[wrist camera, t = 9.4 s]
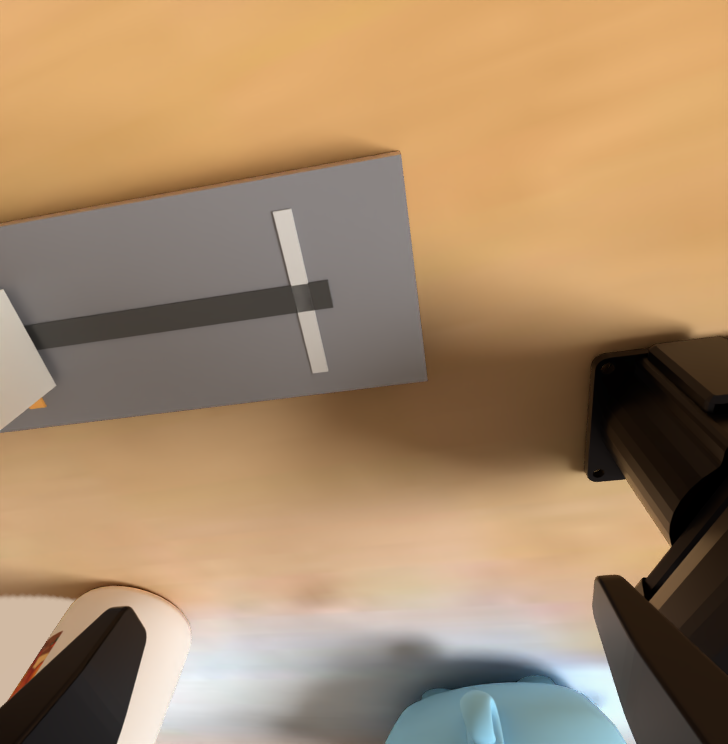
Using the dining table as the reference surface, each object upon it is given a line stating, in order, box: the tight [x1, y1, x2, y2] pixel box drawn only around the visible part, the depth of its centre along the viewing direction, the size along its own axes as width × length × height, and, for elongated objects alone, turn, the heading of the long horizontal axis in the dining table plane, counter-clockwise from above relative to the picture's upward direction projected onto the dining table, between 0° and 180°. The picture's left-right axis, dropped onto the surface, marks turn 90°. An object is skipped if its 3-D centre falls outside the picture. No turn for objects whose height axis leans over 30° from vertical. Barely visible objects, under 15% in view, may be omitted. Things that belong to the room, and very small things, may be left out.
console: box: [0, 151, 428, 433], centre depth 18 cm, size 8×24×2 cm, turn 100°
